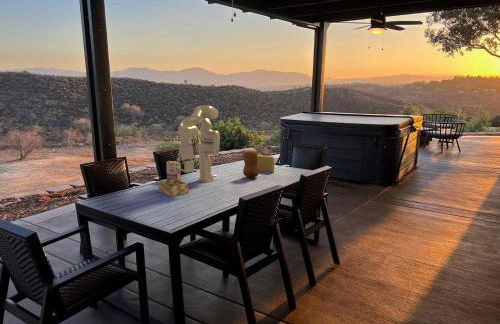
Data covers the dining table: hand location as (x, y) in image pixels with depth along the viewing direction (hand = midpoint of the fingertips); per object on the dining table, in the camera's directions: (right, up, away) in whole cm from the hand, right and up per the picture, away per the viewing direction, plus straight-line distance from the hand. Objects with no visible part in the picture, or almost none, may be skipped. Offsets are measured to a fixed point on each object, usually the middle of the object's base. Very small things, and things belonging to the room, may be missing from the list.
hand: (186, 168), depth 256 cm
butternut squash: (+47, -10, +50) cm, 69 cm away
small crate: (0, -2, 0) cm, 2 cm away
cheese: (+60, -4, +77) cm, 98 cm away
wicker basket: (-11, -18, +5) cm, 21 cm away
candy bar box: (-17, -12, +38) cm, 43 cm away
